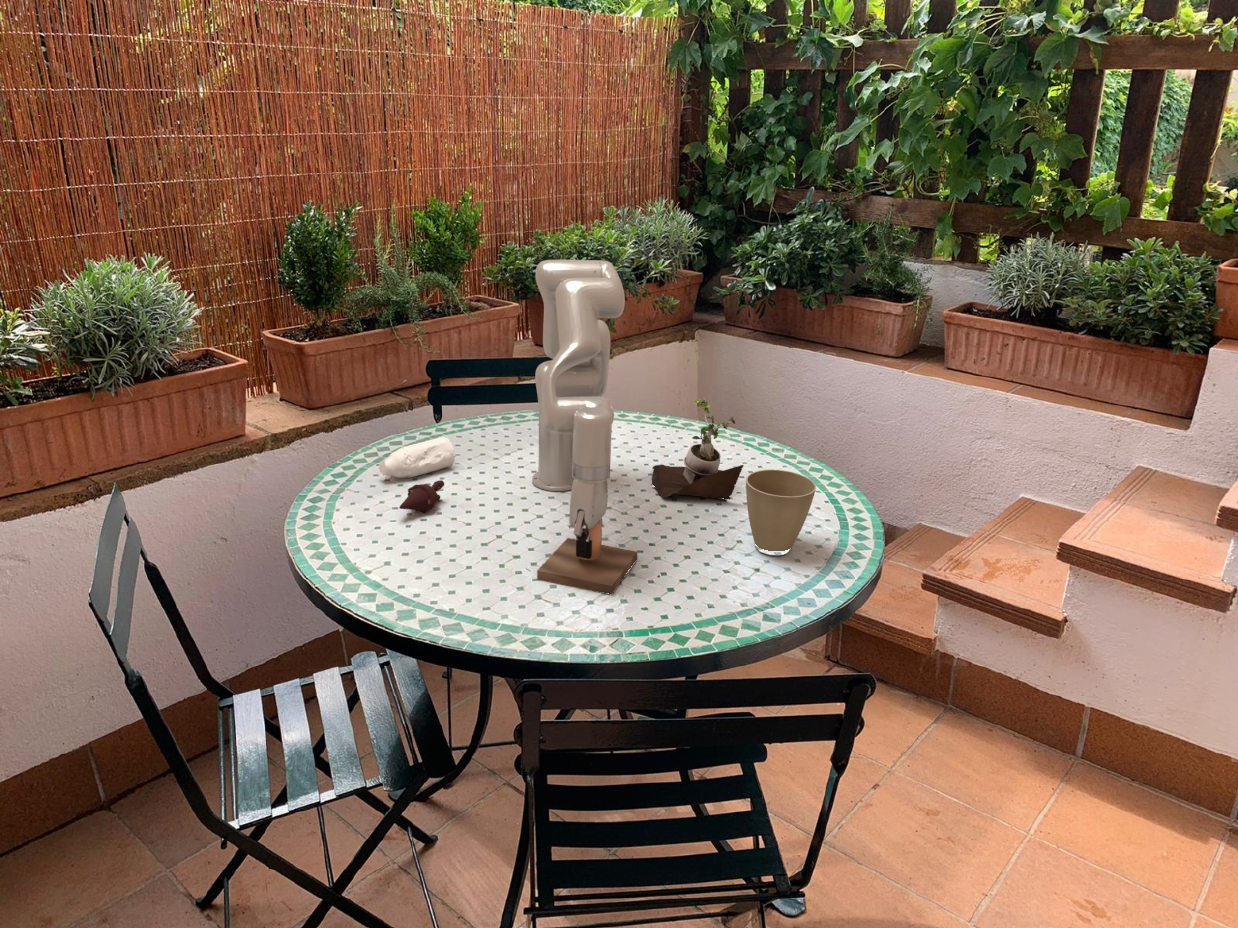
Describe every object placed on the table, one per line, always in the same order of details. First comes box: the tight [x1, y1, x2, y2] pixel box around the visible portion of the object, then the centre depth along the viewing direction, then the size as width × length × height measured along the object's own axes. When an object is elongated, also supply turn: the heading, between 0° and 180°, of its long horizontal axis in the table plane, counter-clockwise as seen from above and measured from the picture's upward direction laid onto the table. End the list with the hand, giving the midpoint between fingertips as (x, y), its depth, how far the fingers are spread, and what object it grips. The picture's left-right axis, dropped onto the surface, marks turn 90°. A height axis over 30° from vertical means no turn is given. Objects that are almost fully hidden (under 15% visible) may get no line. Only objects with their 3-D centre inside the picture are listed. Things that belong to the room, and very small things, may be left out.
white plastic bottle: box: [378, 436, 456, 479], centre depth 234 cm, size 8×19×8 cm, turn 133°
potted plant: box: [651, 398, 744, 500], centre depth 229 cm, size 20×19×25 cm
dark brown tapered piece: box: [399, 479, 445, 515], centre depth 213 cm, size 7×7×15 cm
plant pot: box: [745, 469, 817, 551], centre depth 200 cm, size 15×15×16 cm
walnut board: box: [536, 537, 638, 595], centre depth 191 cm, size 16×16×2 cm
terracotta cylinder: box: [579, 521, 603, 560], centre depth 189 cm, size 5×5×7 cm
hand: (588, 550), depth 190 cm, fingers closed on terracotta cylinder, 5 cm apart
